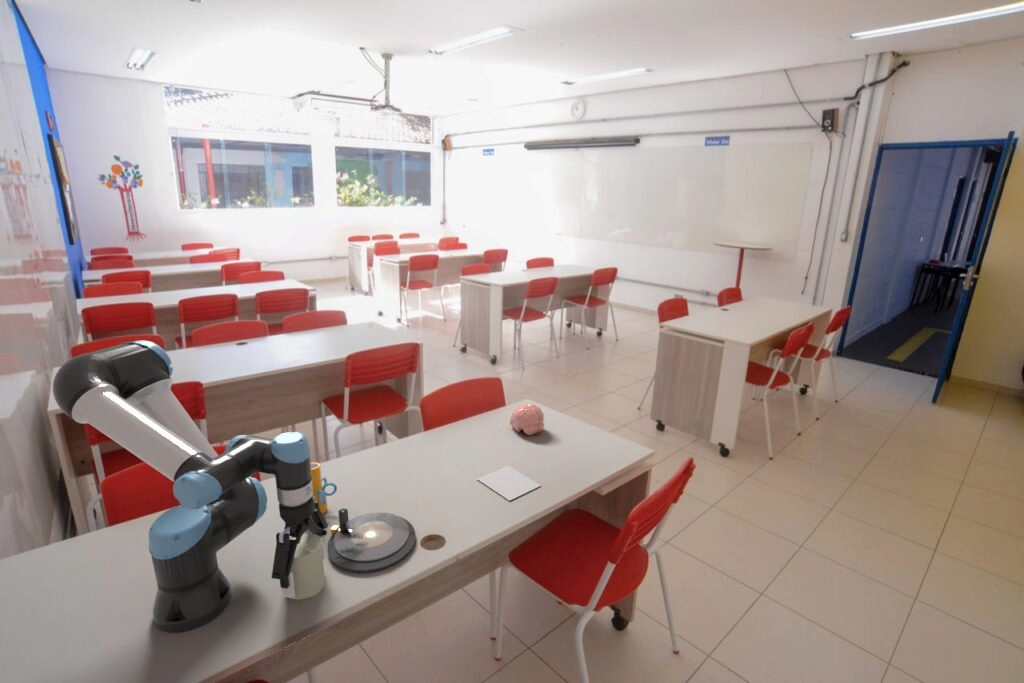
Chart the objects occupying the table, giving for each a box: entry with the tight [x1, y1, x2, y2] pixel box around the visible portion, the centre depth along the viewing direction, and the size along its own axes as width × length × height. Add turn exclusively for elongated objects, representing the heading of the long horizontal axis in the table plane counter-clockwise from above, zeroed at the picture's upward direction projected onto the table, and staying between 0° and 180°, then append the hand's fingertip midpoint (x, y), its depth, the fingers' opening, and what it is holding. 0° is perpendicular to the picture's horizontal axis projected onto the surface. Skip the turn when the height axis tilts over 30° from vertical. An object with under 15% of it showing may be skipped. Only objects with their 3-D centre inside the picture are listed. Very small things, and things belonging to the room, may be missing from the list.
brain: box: [509, 403, 545, 436], centre depth 209 cm, size 16×13×12 cm
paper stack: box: [477, 465, 542, 501], centre depth 171 cm, size 23×25×1 cm
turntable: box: [334, 508, 409, 563], centre depth 138 cm, size 20×20×7 cm
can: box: [290, 532, 327, 601], centre depth 123 cm, size 9×9×12 cm
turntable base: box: [327, 516, 416, 574], centre depth 139 cm, size 23×23×4 cm
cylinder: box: [310, 462, 338, 514], centre depth 152 cm, size 12×10×15 cm
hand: (304, 576), depth 124 cm, fingers open, 12 cm apart
